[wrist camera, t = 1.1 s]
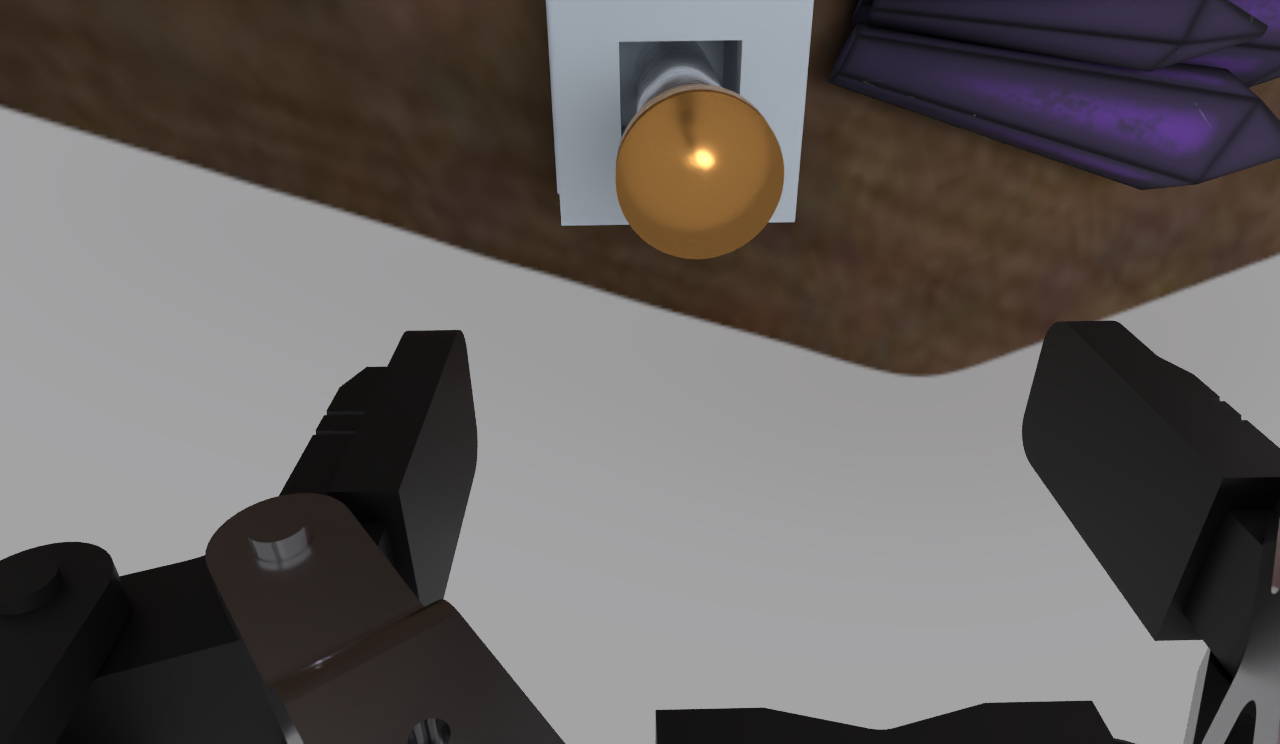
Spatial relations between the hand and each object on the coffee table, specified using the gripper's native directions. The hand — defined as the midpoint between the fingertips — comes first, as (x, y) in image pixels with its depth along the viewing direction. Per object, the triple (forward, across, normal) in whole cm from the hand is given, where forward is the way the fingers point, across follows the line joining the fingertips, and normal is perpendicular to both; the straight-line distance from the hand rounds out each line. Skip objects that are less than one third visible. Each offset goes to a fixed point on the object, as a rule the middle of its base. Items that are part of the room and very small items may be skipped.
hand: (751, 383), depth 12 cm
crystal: (+24, -16, -2) cm, 29 cm away
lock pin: (+22, 0, 0) cm, 22 cm away
